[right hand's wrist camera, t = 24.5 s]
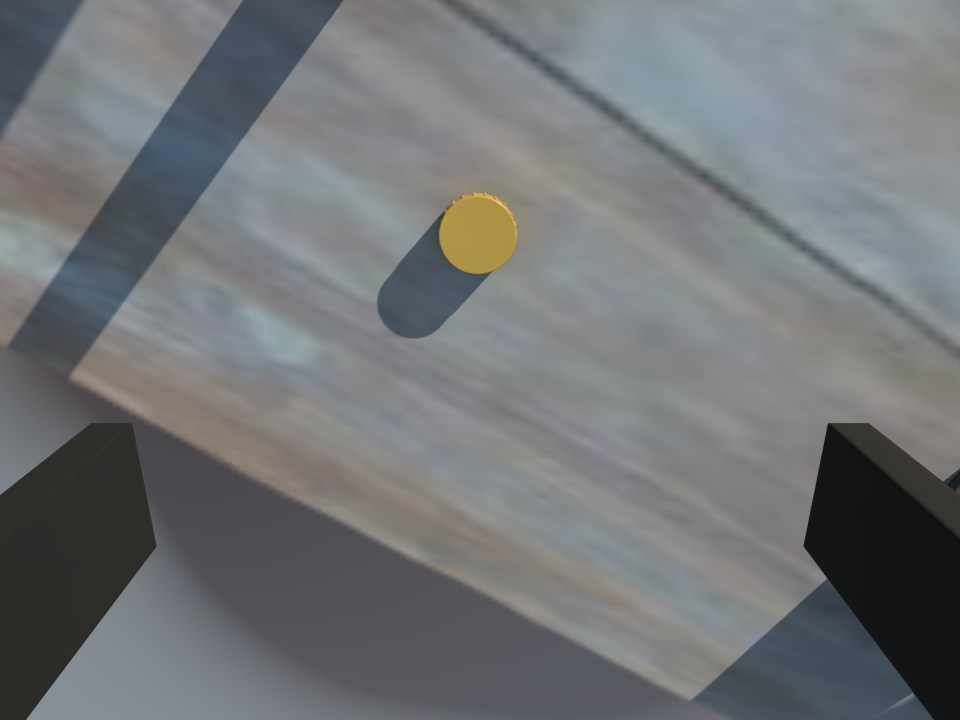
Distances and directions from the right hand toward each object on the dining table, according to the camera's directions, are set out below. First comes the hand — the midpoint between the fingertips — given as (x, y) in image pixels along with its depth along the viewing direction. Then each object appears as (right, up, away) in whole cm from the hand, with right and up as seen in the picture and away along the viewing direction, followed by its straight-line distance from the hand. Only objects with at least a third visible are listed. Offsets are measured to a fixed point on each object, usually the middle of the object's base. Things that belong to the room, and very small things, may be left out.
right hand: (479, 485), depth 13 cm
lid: (0, +10, +26) cm, 28 cm away
